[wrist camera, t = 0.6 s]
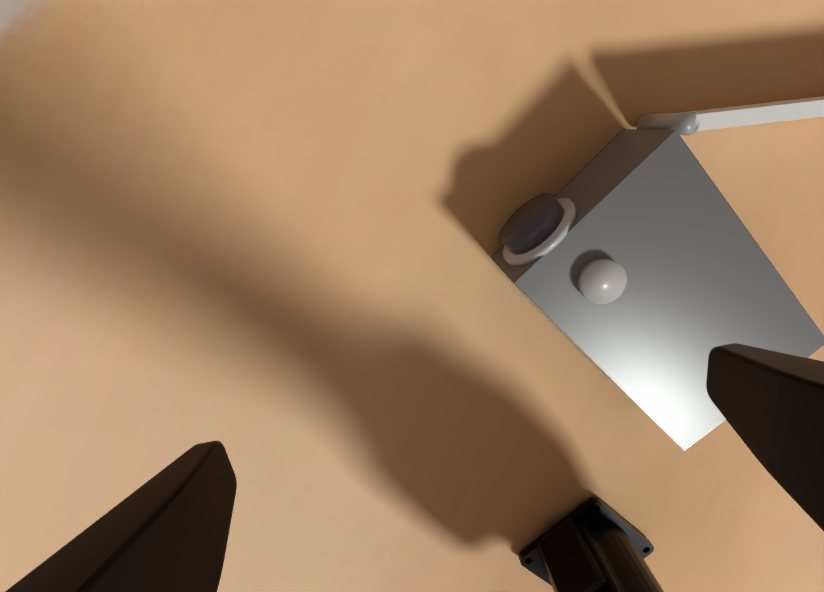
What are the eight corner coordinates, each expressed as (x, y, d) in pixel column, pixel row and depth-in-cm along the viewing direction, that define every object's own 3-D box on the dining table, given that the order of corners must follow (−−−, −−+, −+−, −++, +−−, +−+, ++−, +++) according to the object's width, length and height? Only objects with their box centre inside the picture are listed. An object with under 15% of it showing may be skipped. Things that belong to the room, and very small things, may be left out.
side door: (871, 82, 19) (952, 75, 17) (865, 107, 20) (943, 105, 17) (637, 108, 19) (681, 105, 16) (635, 134, 19) (678, 136, 17)
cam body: (764, 309, 24) (840, 345, 20) (642, 407, 25) (691, 458, 21) (611, 110, 19) (671, 107, 15) (477, 244, 21) (501, 270, 17)
